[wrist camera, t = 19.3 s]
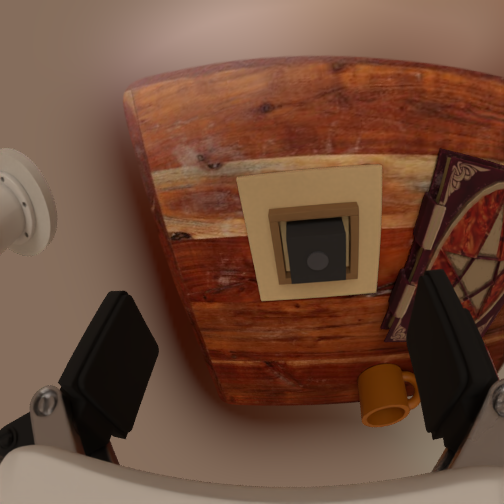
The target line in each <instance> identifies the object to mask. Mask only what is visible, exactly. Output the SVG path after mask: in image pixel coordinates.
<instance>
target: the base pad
mask: <svg viewBox="0 0 504 504" xmlns="http://www.w3.org/2000/svg"><path fill="white" fill-rule="evenodd" d="M236 180H237V185H238V190H239V195H240V200H241V205H242V209H243V214H244V219H245V224H246V229H247V234H248V239H249V244H250V248H251V253H252V258H253V263H254V268H255V273H256V278H257V282H258V287H259V292H260V297H261V301H272V300H288V299H303V298H317V297H330V296H342V295H354V294H365V293H376V288H377V278H378V266H379V253H380V236H381V213H382V166H381V165H380V164H376V165H358V166H342V167H329V168H316V169H305V170H294V171H284V172H275V173H266V174H257V175H248V176H240V177H237V179H236ZM335 217H342V220H343V224H344V228H345V231H346V280H340V281H328V282H315V283H301V284H292V282H291V274H290V266H289V258H288V250H287V242H286V222H287V221H298V220H310V219H322V218H335Z"/></svg>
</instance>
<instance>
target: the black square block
mask: <svg viewBox="0 0 504 504" xmlns="http://www.w3.org/2000/svg"><path fill="white" fill-rule="evenodd" d="M286 242H287V250H288V258H289V266H290V274H291V282H292V284H301V283H315V282H328V281H340V280H346V231H345V228H344V224H343V220H342V217H335V218H322V219H310V220H298V221H287V222H286Z"/></svg>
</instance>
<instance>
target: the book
mask: <svg viewBox="0 0 504 504" xmlns="http://www.w3.org/2000/svg"><path fill="white" fill-rule="evenodd" d="M413 235H414V237H415V240H414V243H413V246H412V249H411V252H410V255H409V258H408V261H407V263H406V266H405V269H404V268H403V269H401V270H400V273H399V275H398V278H397V281H396V283H395V286H394V288H393V291H392V294H391V296H390V299H389V309H388V312H387V314H386V316H385V319H384V321H383V323H382V325H381V329H390V330H389V332H388V334H387V336H386V338H385V340H384V342H406V334H407V330H408V326H409V322H410V318H411V313H412V309H413V304H414V300H415V295H416V290H417V285H418V280H419V277H420V276H424V273H425V271H427V270H436V269H443V270H444V271H445V273H446V275H447V276H448V278H449V280H450V282H451V284H452V286H453V288H454V290H455V292H456V294H457V296H458V298H459V300H460V302H461V304H462V306H463V308H466V309H468V310H469V312H470V313H471V315H472V317H473V320H474V322H475V324H476V326H477V328H478V330H479V333H480V335H481V337H483V336H484V334H485V333H486V331H487V330H488V328H489V327H490V325H491V323H492V322H493V320H494V319H495V317H496V315H497V314H498V312H499V311H500V309H501V307H502V306H503V304H504V166H503V165H500V164H497V163H493V162H490V161H486V160H483V159H479V158H476V157H472V156H468V155H465V154H461V153H457V152H453V151H449V150H445V149H440V151H439V156H438V160H437V164H436V168H435V172H434V176H433V180H432V184H431V188H430V191H429V192H426V193H425V195H424V199H423V202H422V206H421V209H420V212H419V216H418V219H417V222H416V226H415V229H414V232H413Z"/></svg>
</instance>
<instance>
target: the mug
mask: <svg viewBox="0 0 504 504" xmlns="http://www.w3.org/2000/svg"><path fill="white" fill-rule="evenodd" d="M404 381H406V382H409V383H411V384H412V386H413V387H414V395H413V397H412V398H410V399H408V398H407V393H406V388H405V383H404ZM358 388H359V397H360V407H361V418H362V423H363V424H364V425H366V426H369V427H383V426H388V425H392V424H395V423H397V422H399V421H401V420H402V419H404V418H405V417H406V416H407V415H408V414H409V412H410V410H411V409H414V408H415V407H417V405H419V403H420V402H421V401H420V397H419V392H418V388H417V383H416V379H415V375H414V374H413V373H411V372H408V371H401V368H400V367H398V366H397V365H393V364H381V365H376V366H373V367H371V368H369V369H367V370H365V371H364V372H363V373H362V374H361V375H360V376H359V378H358Z"/></svg>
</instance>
